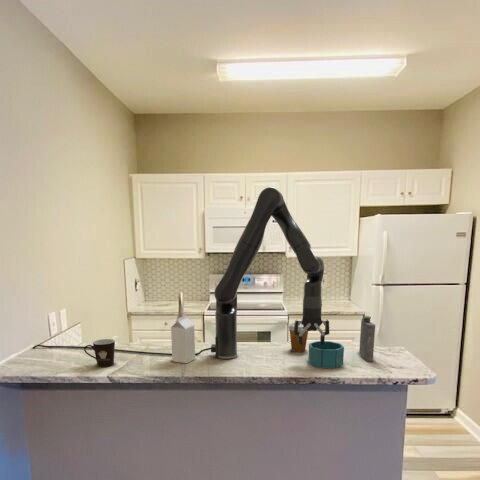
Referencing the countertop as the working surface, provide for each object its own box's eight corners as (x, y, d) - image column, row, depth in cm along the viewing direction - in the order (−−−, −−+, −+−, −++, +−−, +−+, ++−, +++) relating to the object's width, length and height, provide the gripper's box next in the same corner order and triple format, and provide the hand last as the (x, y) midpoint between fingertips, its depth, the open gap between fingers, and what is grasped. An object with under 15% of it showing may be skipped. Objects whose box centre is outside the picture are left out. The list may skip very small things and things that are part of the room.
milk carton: (195, 359, 175) (194, 316, 171) (186, 363, 169) (185, 319, 165) (181, 357, 178) (179, 314, 174) (172, 361, 172) (170, 317, 168)
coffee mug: (120, 362, 170) (119, 339, 168) (107, 369, 162) (106, 345, 160) (97, 360, 174) (95, 337, 172) (84, 366, 166) (82, 342, 164)
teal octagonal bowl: (311, 368, 163) (312, 350, 161) (306, 357, 176) (307, 341, 175) (345, 368, 163) (346, 350, 161) (338, 358, 176) (338, 341, 174)
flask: (364, 361, 171) (367, 320, 167) (356, 351, 185) (359, 313, 181) (373, 361, 171) (376, 320, 167) (364, 351, 185) (367, 313, 181)
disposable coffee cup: (308, 347, 192) (308, 322, 190) (309, 353, 183) (310, 327, 181) (287, 347, 193) (288, 322, 191) (288, 352, 184) (288, 327, 182)
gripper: (327, 304, 168) (326, 342, 172) (293, 304, 168) (293, 342, 172) (331, 307, 161) (330, 346, 164) (295, 308, 161) (295, 347, 165)
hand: (311, 344), depth 168 cm, fingers open, 8 cm apart
